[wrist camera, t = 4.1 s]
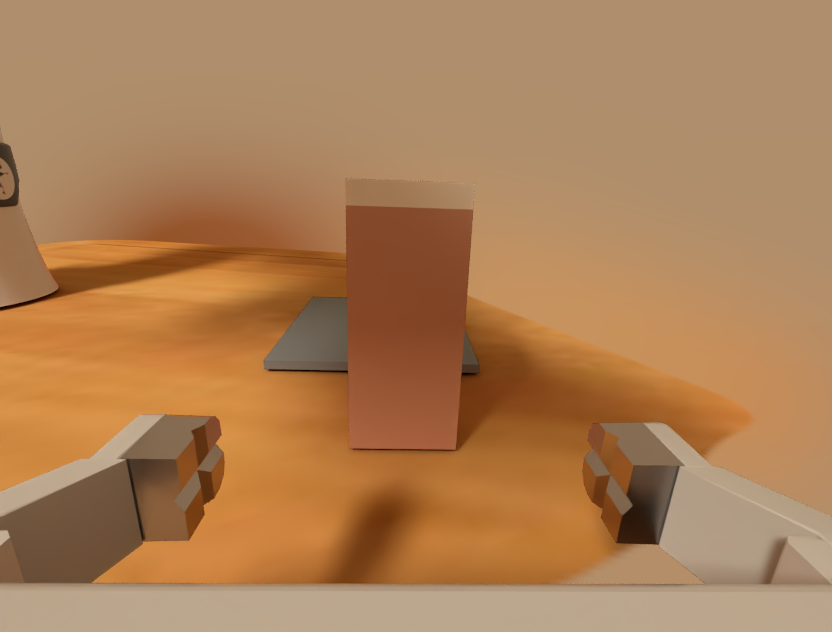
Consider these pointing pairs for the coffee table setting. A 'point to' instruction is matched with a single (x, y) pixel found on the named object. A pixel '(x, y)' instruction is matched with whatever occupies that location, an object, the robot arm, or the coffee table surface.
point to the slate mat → (328, 340)
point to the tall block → (406, 310)
